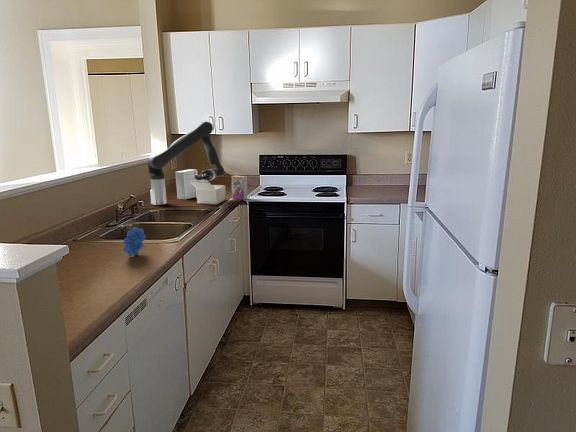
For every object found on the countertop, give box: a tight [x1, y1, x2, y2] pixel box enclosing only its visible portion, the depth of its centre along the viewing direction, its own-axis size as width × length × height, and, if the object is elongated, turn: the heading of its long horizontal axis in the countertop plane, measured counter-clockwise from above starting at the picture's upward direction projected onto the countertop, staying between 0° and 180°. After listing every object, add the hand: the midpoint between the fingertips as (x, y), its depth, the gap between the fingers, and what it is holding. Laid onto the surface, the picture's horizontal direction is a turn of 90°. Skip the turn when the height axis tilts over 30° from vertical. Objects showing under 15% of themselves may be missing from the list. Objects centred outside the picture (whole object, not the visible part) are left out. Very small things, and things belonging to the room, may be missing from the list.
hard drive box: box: [174, 168, 199, 200], centre depth 306 cm, size 16×8×20 cm, turn 149°
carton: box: [195, 184, 226, 205], centre depth 292 cm, size 17×16×10 cm
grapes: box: [123, 226, 146, 257], centre depth 177 cm, size 12×7×12 cm, turn 154°
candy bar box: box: [230, 175, 249, 201], centre depth 300 cm, size 11×5×16 cm, turn 57°
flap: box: [188, 180, 215, 189], centre depth 275 cm, size 1×13×14 cm
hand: (197, 178), depth 268 cm, fingers closed
